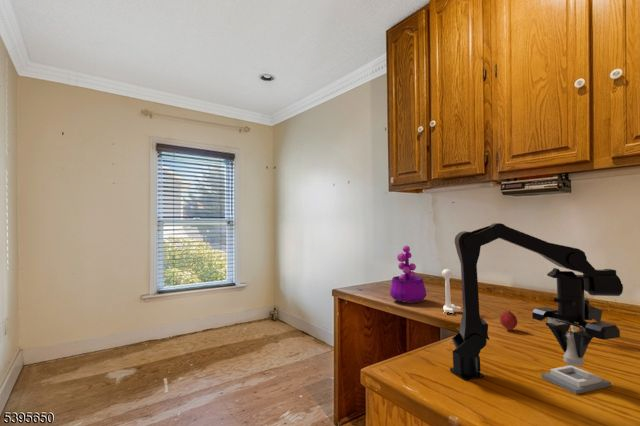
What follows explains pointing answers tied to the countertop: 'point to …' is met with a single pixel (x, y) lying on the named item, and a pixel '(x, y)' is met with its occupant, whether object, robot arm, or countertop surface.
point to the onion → (508, 320)
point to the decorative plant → (407, 281)
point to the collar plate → (575, 379)
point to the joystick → (448, 293)
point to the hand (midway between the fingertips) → (573, 354)
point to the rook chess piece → (572, 351)
